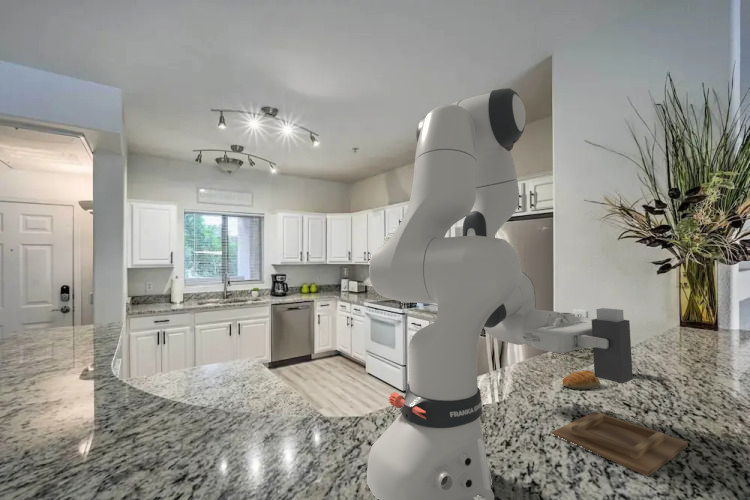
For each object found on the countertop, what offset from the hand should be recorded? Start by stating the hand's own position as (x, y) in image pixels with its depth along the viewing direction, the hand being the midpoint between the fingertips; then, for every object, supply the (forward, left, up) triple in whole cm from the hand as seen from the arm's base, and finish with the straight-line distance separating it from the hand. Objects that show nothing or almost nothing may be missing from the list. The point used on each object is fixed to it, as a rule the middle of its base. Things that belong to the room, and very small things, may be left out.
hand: (616, 341), depth 66 cm
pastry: (+24, +20, -19) cm, 37 cm away
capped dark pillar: (0, +1, -7) cm, 7 cm away
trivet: (0, +1, -19) cm, 19 cm away
